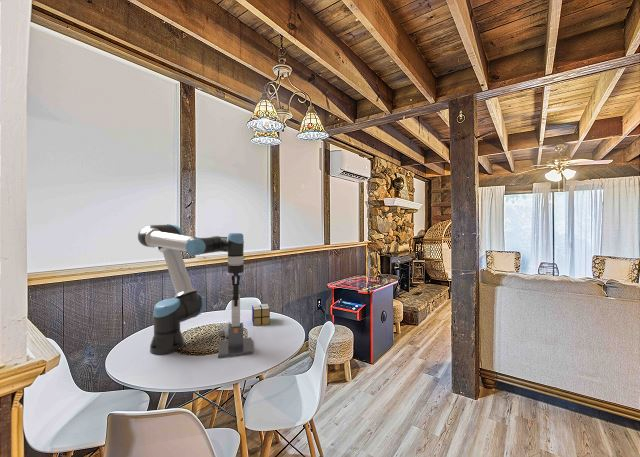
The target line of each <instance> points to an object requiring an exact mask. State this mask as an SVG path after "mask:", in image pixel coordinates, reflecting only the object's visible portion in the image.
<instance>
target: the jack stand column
mask: <svg viewBox="0 0 640 457" xmlns="http://www.w3.org/2000/svg"><path fill="white" fill-rule="evenodd" d="M226 291H227V292H226V294H227V295H231V328H239V327H240V323H241V294H245V288H244V287H240V288H239V287H238V297H239V313H233V300H232V299H233V288H227V290H226Z"/></svg>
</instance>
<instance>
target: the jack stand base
mask: <svg viewBox="0 0 640 457" xmlns="http://www.w3.org/2000/svg"><path fill="white" fill-rule="evenodd" d="M231 324H232V323H231ZM231 324H229V327H228V337H227V339H224V340H223V339H222V340H219V345H218V352H217V358H218V359H221V358H229V357H230V358H231V357H237V356H238V357H239V356H248V355H254V347H253V346H254V345H253V338H252V337H251V336H249V337H244V322H240V327H239V328H231Z"/></svg>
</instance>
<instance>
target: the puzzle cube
mask: <svg viewBox="0 0 640 457" xmlns="http://www.w3.org/2000/svg"><path fill="white" fill-rule="evenodd" d="M251 306H252V307H251V308H252V309H251V321H252V325H253V327H255V326H256V327H257V326H266V325H270V323H271V316H270V315H271V307H270V306H269V304H268V303H263V304H262V303H261V304H252V305H251Z"/></svg>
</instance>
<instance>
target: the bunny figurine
mask: <svg viewBox="0 0 640 457" xmlns="http://www.w3.org/2000/svg"><path fill="white" fill-rule="evenodd" d="M229 324H232V322H231V321H227V322H226V323H223V324H222V323H217V325H216V327H217V328H220V330H218V336H220V337H221V336H222V335H224V336H225V338H224V339H226V338H227V339H228V327H229ZM224 336H222V337H224Z"/></svg>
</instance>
